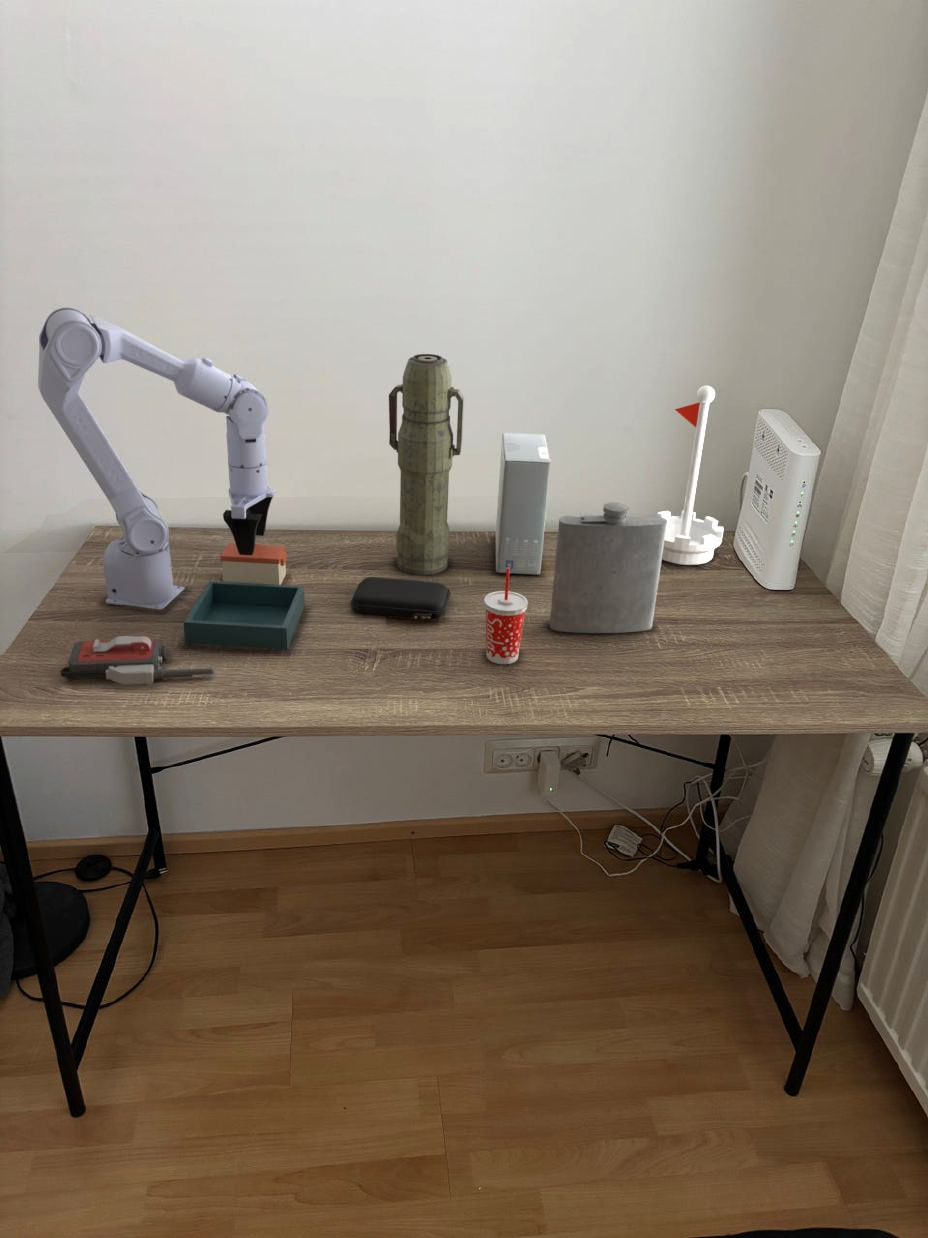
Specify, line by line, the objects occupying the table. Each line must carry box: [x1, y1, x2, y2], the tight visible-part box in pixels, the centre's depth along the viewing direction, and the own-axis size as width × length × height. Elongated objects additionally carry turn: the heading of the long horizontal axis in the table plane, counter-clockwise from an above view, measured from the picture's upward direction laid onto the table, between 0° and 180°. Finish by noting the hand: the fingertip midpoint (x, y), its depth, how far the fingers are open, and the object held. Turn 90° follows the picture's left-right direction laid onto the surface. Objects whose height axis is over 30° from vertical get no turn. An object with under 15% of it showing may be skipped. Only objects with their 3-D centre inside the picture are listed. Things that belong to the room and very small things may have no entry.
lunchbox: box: [220, 542, 288, 585], centre depth 164 cm, size 10×5×6 cm, turn 87°
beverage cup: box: [483, 567, 529, 665], centre depth 144 cm, size 6×6×14 cm
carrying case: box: [350, 576, 452, 621], centre depth 158 cm, size 11×3×15 cm
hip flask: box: [549, 501, 667, 634], centre depth 152 cm, size 16×4×20 cm, turn 95°
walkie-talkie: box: [60, 635, 215, 685], centre depth 139 cm, size 9×4×20 cm
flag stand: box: [656, 385, 724, 566], centre depth 176 cm, size 13×13×30 cm
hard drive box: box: [495, 432, 552, 576], centre depth 174 cm, size 16×8×20 cm, turn 179°
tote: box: [183, 580, 306, 651], centre depth 151 cm, size 15×14×4 cm
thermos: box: [388, 353, 465, 576], centre depth 166 cm, size 9×12×35 cm
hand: (251, 544), depth 162 cm, fingers open, 7 cm apart
